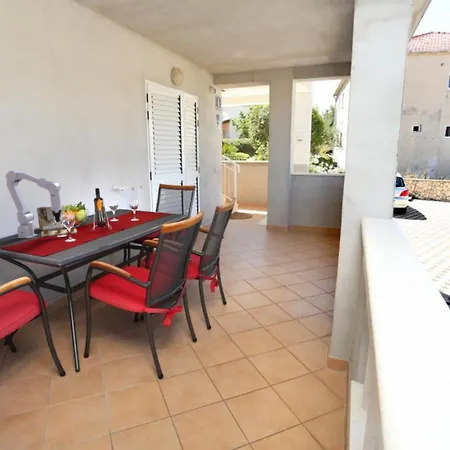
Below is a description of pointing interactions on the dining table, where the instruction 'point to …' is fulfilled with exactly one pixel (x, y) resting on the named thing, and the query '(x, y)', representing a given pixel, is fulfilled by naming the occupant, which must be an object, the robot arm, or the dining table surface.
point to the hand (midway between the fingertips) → (57, 221)
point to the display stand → (56, 232)
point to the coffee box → (45, 217)
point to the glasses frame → (53, 225)
